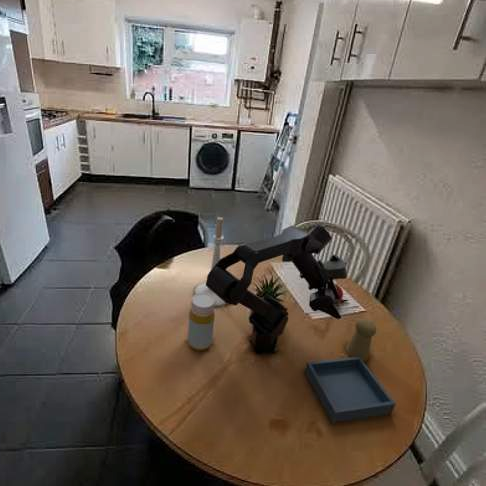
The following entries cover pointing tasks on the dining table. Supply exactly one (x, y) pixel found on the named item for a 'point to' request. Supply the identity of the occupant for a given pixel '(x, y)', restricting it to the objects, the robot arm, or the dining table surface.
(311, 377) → the tray
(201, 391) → the dining table surface
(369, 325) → the wooden peg doll
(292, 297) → the dining table surface
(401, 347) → the dining table surface
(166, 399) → the dining table surface
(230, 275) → the robot arm
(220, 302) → the candlestick
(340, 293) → the onion
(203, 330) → the bottle
